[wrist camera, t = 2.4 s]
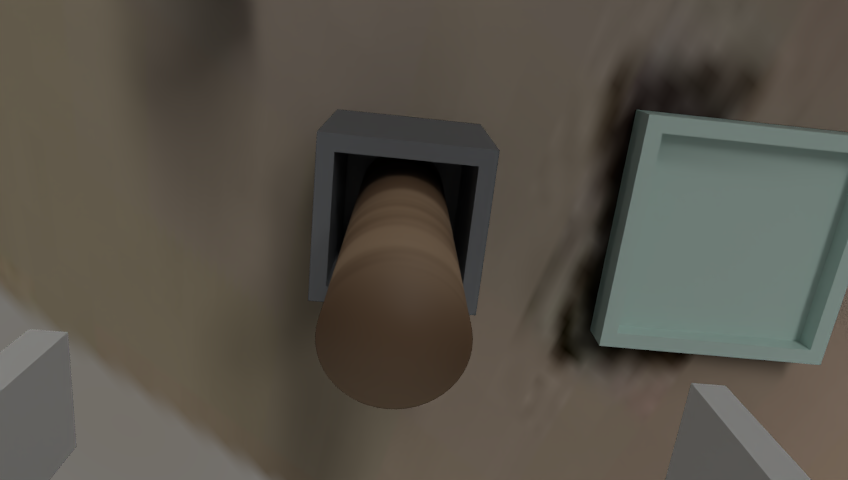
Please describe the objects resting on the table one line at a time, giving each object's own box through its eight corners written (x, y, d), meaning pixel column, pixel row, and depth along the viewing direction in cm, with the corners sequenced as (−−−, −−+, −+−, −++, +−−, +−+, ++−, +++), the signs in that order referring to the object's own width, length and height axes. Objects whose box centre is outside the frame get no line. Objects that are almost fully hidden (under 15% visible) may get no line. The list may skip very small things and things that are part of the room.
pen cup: (337, 109, 30) (317, 131, 24) (480, 124, 31) (499, 150, 24) (328, 245, 33) (307, 300, 26) (462, 257, 33) (475, 315, 26)
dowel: (365, 145, 30) (319, 260, 15) (447, 153, 31) (482, 275, 15) (359, 223, 32) (311, 402, 17) (437, 231, 32) (462, 415, 17)
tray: (636, 109, 31) (649, 114, 29) (871, 134, 31) (897, 140, 30) (589, 329, 34) (599, 345, 33) (800, 348, 35) (820, 364, 33)
